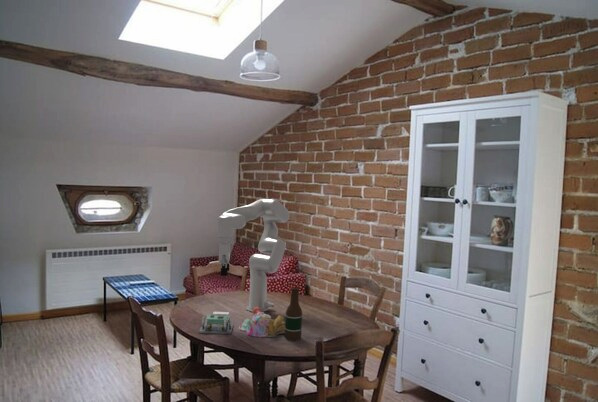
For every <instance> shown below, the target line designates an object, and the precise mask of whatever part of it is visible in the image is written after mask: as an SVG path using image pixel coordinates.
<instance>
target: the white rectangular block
mask: <svg viewBox="0 0 598 402" xmlns="http://www.w3.org/2000/svg"><path fill="white" fill-rule="evenodd" d="M212 312H213V313H212V315H215V316H226V315H227V314H228V321H229V318H230V312H228V311H212Z"/></svg>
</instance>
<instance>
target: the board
mask: <svg viewBox="0 0 598 402" xmlns="http://www.w3.org/2000/svg"><path fill="white" fill-rule="evenodd" d="M205 317H206V318H205V320H207V324H223V325H224V320H226V324H227V322H228V323H229V320H228V316H215V315H213V314H210V315H208V314H207V315H206V316H205Z"/></svg>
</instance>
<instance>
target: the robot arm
mask: <svg viewBox="0 0 598 402" xmlns="http://www.w3.org/2000/svg"><path fill="white" fill-rule="evenodd" d="M260 217H262V220H263V225H264V229H263V232H262V235H261V237H260V239H259V242H258V246H257V249H258V252H260V253H253V254H252V255H251V256H250V257H249V261H248V267H249V272H250V273H249V274H250V277H249V278H250V280H249V299H248V302H249V303H248V304H247V306H246V310H247V311H248V312H252V313H253V309H254V308H255V307H259V308H260V309H261V312H264V313H265V312H267V311H269V309H270V308H274V306H275V303H272V302H268V300H267V292H268V290H267V289H268V276H267V274H266V273H270V274H273V273H276V272H277V271H278V270H279V267H280V265H281V262H282V260H283V257H284V254H285V251H286V243H285V241H284V240H283V239H281V238H278V235H279V229H278V228H279V227H278V226H277V223H282V224H285V223H287V222H288V221H289V220H290V217H291V216H290V211H289V209H288V208H287V207H285V206H284V204H283V203H281V202H280V201H279V200H276V199H273V198H272V199H271V198H260V199H257V200H256V201H254V202H252V203H249V204H248V205H243V206H239V207H236V208H232V209H228V210H227V211H224V212H223V213H222V214H221V215H220V216H218V217H217V244H219V247H218V263H219V264H220V276H221V277H227V276H228V272H229V271H230V261H231V260H230V259H231V244H233V241H234V239H233V237H234V234H233V233H234V231H233V230H241V229H242V228H244V227H245V226H246V225H247V221H248V222H249V221H253V220H255V219H258V218H260Z"/></svg>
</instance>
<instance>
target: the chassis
mask: <svg viewBox="0 0 598 402" xmlns="http://www.w3.org/2000/svg"><path fill="white" fill-rule="evenodd" d="M208 315H211V313H207V316H208ZM226 316H228V314H227V315H226ZM205 317H206V316H202V318H201V319H202V320H201V321H202V323H201V327H200V328H199V330H198V334H215V335H216V334H219V335H231V334H232V331H233V328H234V323H232V317H230V316H229V320H228V322H227V324H226V320H224V325H223V324H207V320H206V318H205Z"/></svg>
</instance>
